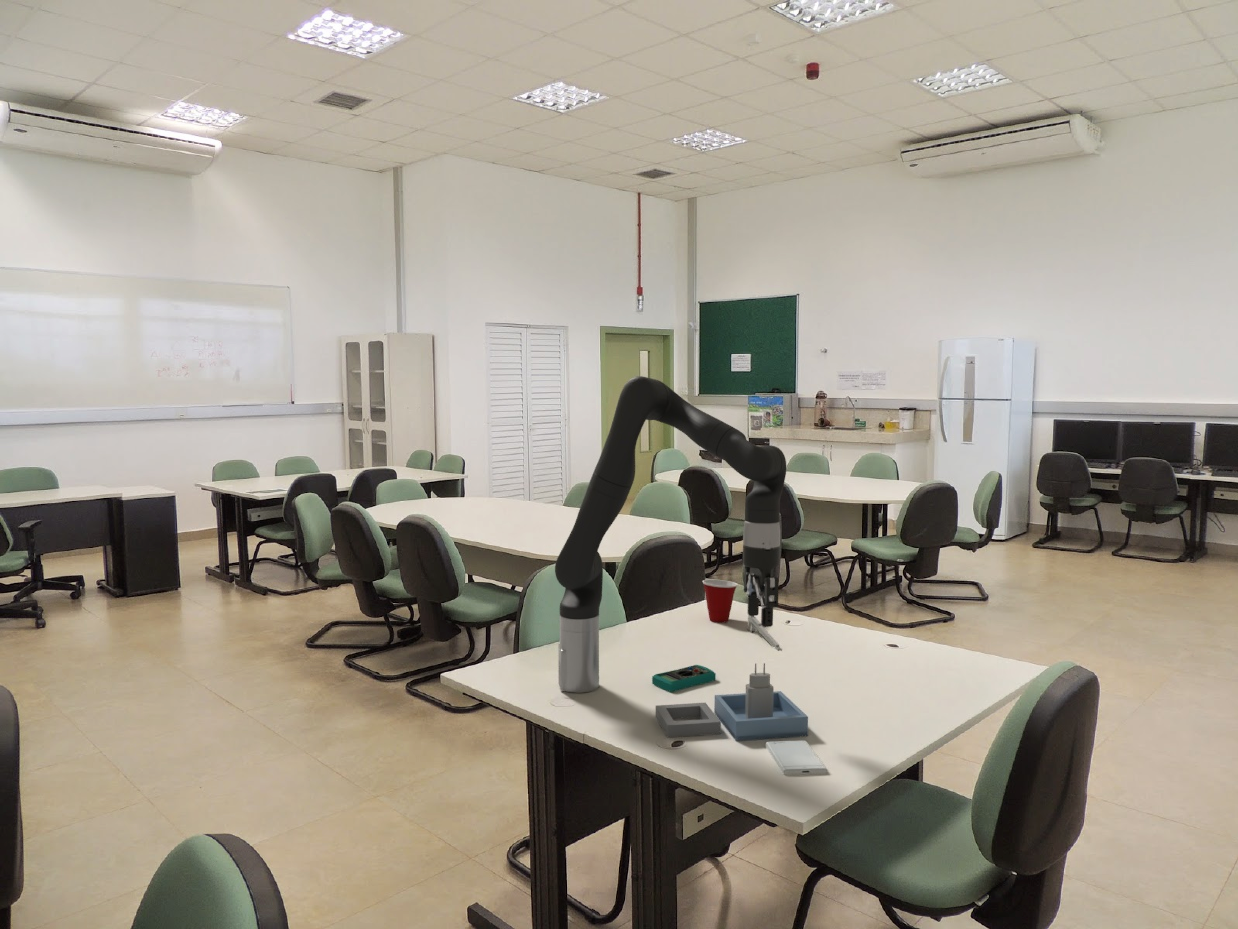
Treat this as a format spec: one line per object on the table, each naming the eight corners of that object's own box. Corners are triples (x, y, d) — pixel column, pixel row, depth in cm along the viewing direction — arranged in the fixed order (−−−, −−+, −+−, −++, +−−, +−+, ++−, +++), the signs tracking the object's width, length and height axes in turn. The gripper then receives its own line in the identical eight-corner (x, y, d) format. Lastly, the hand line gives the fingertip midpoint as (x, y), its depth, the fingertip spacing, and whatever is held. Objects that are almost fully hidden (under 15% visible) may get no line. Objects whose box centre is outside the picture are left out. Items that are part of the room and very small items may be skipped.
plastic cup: (744, 621, 257) (745, 582, 256) (716, 626, 252) (717, 586, 251) (722, 613, 266) (722, 576, 265) (694, 618, 261) (695, 580, 260)
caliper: (747, 631, 248) (747, 610, 247) (750, 630, 248) (751, 609, 248) (777, 651, 228) (778, 628, 228) (781, 651, 229) (782, 628, 228)
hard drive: (765, 741, 165) (783, 768, 153) (806, 740, 166) (827, 767, 154) (765, 749, 166) (783, 777, 153) (806, 748, 166) (827, 776, 154)
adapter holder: (667, 737, 170) (667, 725, 169) (655, 717, 180) (655, 705, 180) (720, 733, 172) (720, 721, 171) (705, 713, 182) (705, 702, 182)
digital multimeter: (718, 682, 204) (718, 670, 204) (670, 694, 195) (670, 682, 195) (697, 674, 210) (697, 662, 210) (650, 686, 201) (650, 673, 201)
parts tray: (736, 741, 168) (736, 721, 168) (714, 713, 183) (714, 695, 182) (807, 736, 171) (808, 716, 170) (780, 709, 185) (780, 691, 185)
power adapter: (774, 721, 176) (775, 665, 175) (748, 723, 175) (749, 666, 174) (769, 716, 179) (770, 660, 178) (744, 717, 178) (745, 661, 177)
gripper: (733, 537, 180) (731, 612, 181) (755, 549, 166) (753, 631, 167) (767, 537, 181) (765, 611, 183) (791, 548, 167) (789, 629, 169)
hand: (759, 620), depth 175 cm, fingers open, 8 cm apart
